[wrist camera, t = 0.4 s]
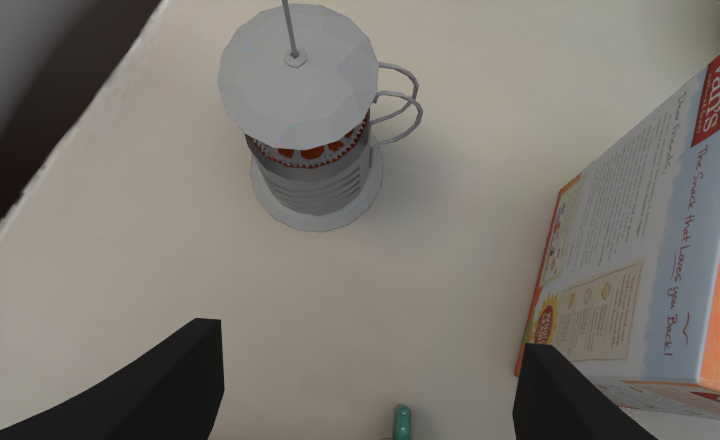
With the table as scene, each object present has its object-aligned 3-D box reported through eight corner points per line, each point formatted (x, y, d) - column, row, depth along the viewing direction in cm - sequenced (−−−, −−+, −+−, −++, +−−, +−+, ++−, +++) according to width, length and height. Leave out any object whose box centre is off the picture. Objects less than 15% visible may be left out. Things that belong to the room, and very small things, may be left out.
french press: (245, 113, 43) (100, -220, 18) (397, 97, 43) (450, -251, 19) (255, 240, 40) (102, 46, 16) (416, 220, 41) (506, 3, 16)
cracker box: (597, 405, 37) (881, 451, 17) (509, 375, 38) (685, 385, 18) (639, 212, 41) (918, 61, 21) (558, 187, 41) (753, 14, 21)
